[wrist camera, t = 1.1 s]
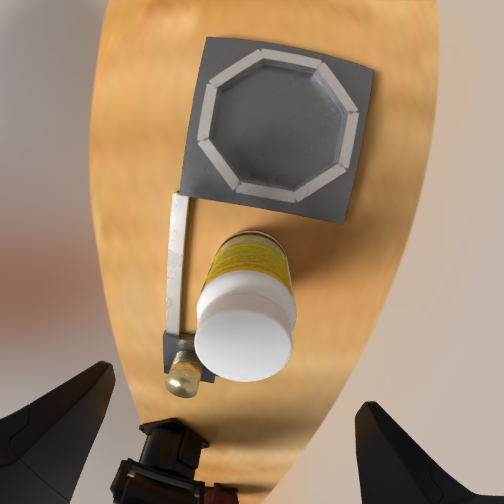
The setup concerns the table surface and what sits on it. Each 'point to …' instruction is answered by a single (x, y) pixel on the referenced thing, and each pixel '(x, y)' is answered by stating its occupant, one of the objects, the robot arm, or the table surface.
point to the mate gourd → (220, 495)
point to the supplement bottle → (246, 309)
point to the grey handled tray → (262, 154)
